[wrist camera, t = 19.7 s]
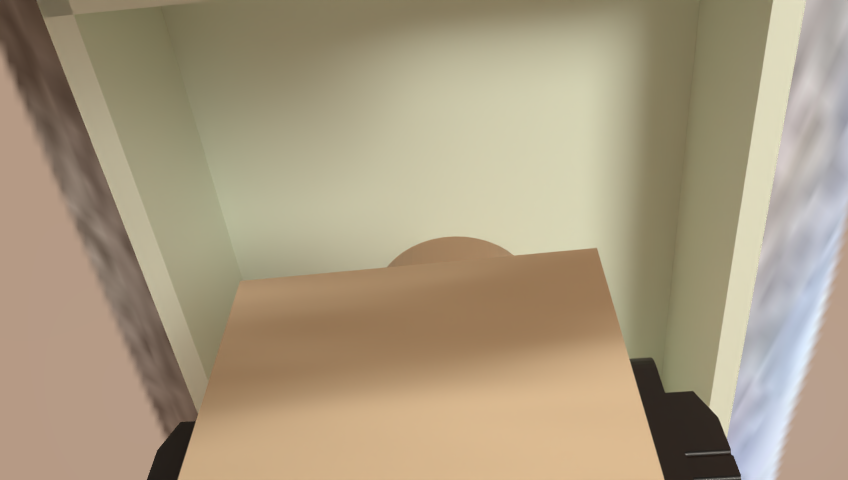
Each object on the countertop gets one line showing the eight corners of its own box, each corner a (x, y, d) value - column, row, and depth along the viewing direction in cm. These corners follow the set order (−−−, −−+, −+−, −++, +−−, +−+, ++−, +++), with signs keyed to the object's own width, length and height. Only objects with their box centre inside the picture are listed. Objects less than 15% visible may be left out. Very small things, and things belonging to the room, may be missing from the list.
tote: (117, -84, 19) (30, -15, 15) (734, -149, 18) (822, -95, 14) (272, 414, 29) (246, 537, 25) (672, 389, 28) (713, 513, 24)
